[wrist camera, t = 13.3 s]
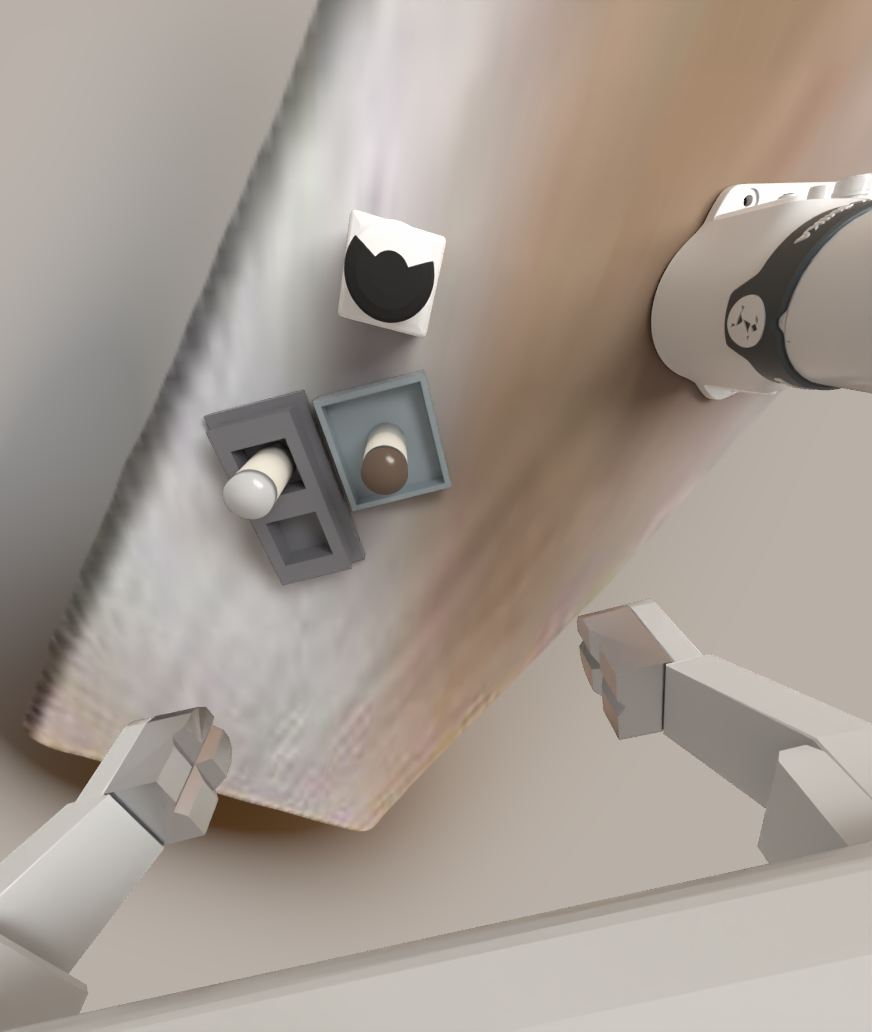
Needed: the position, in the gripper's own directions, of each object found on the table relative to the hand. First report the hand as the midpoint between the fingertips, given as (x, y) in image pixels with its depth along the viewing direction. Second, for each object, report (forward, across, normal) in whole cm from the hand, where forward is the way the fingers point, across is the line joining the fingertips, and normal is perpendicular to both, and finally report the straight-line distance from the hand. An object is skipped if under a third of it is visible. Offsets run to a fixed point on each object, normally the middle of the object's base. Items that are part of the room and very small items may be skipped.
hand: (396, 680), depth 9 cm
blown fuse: (+36, +2, +5) cm, 37 cm away
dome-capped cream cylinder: (+36, +14, +4) cm, 39 cm away
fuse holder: (+37, +14, +8) cm, 40 cm away
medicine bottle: (+37, -2, -9) cm, 38 cm away
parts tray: (+37, +2, +5) cm, 37 cm away
